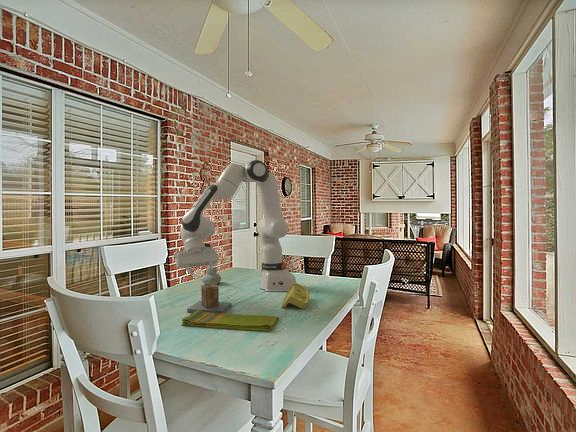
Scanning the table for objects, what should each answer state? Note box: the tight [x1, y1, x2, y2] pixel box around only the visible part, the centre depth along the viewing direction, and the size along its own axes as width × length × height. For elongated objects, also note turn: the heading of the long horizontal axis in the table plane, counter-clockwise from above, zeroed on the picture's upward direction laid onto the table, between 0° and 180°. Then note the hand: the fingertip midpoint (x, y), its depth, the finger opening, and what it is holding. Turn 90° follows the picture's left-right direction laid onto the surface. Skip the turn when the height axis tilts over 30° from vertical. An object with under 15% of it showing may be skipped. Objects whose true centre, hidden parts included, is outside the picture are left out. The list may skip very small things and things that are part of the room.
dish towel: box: [181, 310, 280, 333], centre depth 134 cm, size 15×36×3 cm, turn 79°
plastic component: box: [281, 282, 310, 310], centre depth 160 cm, size 20×7×10 cm
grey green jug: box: [201, 265, 222, 285], centre depth 197 cm, size 11×8×10 cm
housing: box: [200, 284, 220, 308], centre depth 150 cm, size 6×6×9 cm
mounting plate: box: [186, 300, 233, 314], centre depth 150 cm, size 16×12×6 cm
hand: (201, 272), depth 159 cm, fingers open, 8 cm apart
